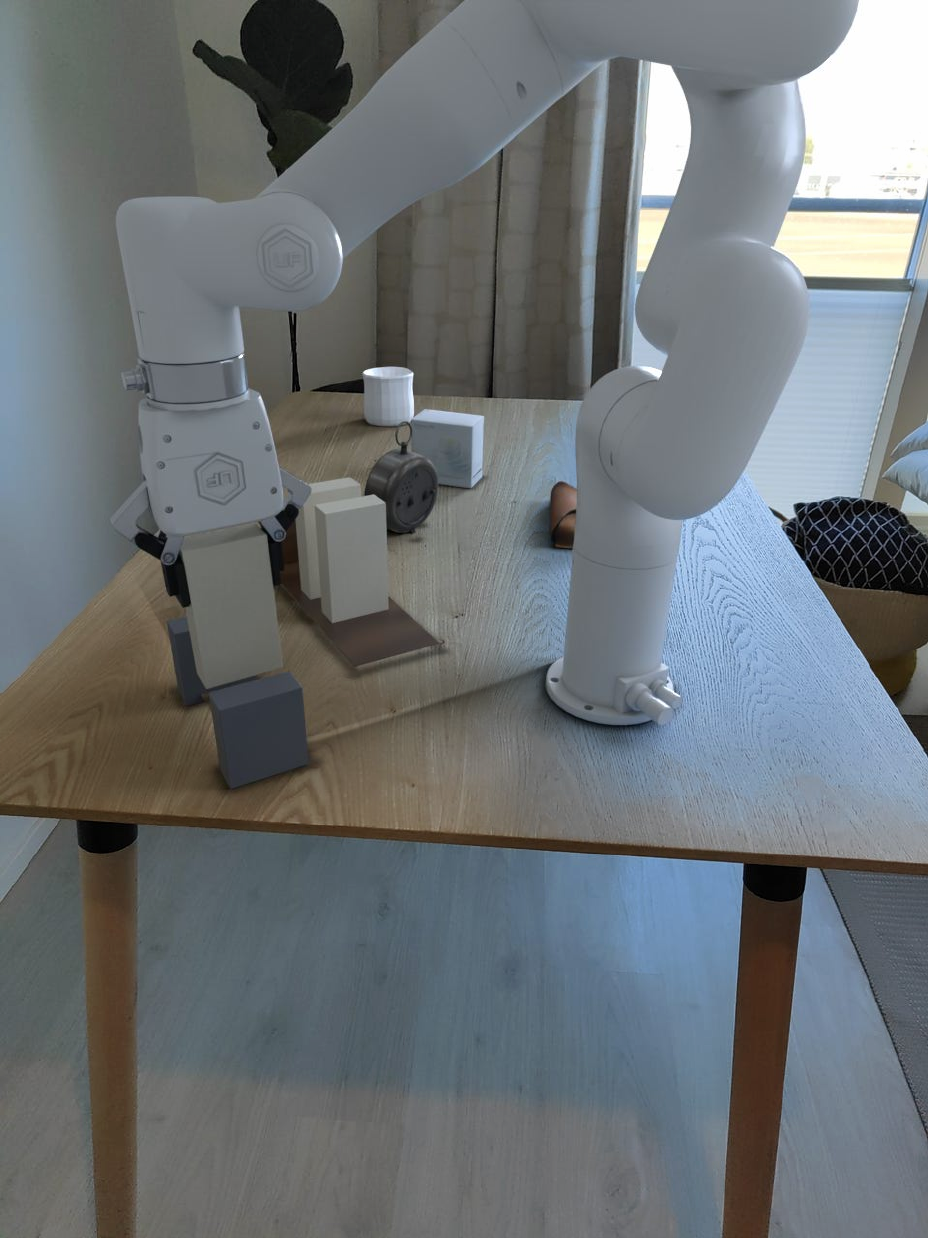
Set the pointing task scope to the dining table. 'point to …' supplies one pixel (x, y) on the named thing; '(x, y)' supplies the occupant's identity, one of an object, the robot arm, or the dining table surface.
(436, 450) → the cosmetics box
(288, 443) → the dining table surface
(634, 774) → the dining table surface
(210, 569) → the cream book
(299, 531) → the cream book
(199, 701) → the grey book
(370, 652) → the book rack
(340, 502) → the cream book
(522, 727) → the dining table surface
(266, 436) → the robot arm
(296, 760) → the grey book
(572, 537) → the sunglasses case
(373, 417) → the cup
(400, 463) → the alarm clock
